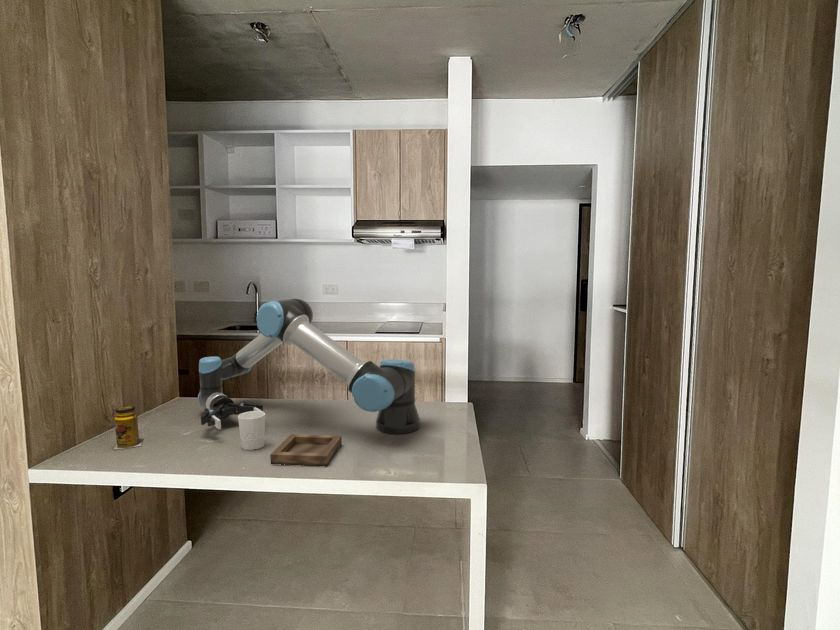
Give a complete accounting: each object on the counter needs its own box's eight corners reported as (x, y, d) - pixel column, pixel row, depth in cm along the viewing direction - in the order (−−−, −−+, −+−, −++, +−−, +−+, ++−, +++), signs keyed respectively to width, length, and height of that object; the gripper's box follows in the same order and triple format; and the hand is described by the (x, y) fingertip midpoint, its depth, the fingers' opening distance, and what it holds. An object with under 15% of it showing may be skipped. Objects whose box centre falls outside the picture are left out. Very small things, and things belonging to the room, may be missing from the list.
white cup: (271, 443, 153) (270, 412, 152) (255, 452, 145) (254, 419, 144) (250, 440, 155) (249, 409, 154) (233, 449, 148) (232, 417, 147)
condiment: (113, 450, 148) (110, 412, 147) (118, 441, 156) (115, 404, 155) (140, 446, 151) (137, 408, 150) (144, 437, 159) (141, 401, 157)
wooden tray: (341, 445, 151) (341, 435, 150) (326, 466, 135) (326, 456, 135) (291, 443, 152) (290, 434, 152) (270, 464, 137) (270, 454, 136)
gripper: (255, 408, 181) (279, 423, 165) (183, 423, 166) (201, 440, 149) (254, 389, 181) (278, 401, 164) (181, 401, 165) (199, 416, 149)
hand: (241, 420), depth 157 cm, fingers open, 13 cm apart
